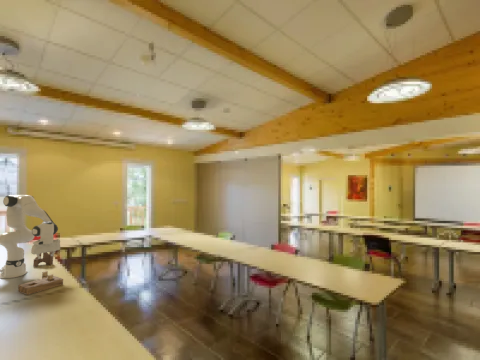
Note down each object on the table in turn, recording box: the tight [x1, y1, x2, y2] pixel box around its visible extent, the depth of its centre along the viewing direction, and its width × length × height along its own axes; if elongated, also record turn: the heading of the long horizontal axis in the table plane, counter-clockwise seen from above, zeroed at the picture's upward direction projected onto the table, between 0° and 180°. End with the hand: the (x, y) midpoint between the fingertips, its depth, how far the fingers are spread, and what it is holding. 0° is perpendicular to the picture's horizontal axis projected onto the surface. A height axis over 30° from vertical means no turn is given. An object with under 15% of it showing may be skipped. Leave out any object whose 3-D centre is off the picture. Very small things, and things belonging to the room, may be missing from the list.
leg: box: [41, 271, 49, 279], centre depth 209 cm, size 4×4×8 cm
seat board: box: [17, 275, 64, 296], centre depth 197 cm, size 14×24×4 cm, turn 154°
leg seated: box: [47, 274, 54, 281], centre depth 202 cm, size 4×4×8 cm
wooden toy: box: [33, 251, 54, 268], centre depth 252 cm, size 16×7×25 cm, turn 129°
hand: (46, 257), depth 210 cm, fingers open, 8 cm apart
